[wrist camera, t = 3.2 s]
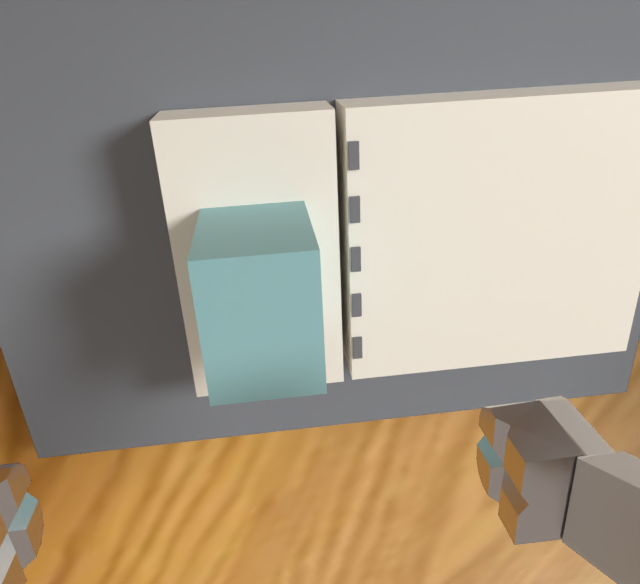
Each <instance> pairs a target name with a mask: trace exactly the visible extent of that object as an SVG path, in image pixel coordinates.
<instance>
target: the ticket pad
mask: <svg viewBox="0 0 640 584" xmlns="http://www.w3.org/2000/svg"><path fill="white" fill-rule="evenodd" d="M335 107H336V138H337V169H338V200H339V231H340V262H341V293H342V324H343V350H344V354H345V357H346V360H347V364H348V367H349V371H350V374H351V377H352V380H355V379H364V378H374V377H383V376H393V375H402V374H411V373H421V372H430V371H440V370H449V369H459V368H468V367H477V366H487V365H496V364H506V363H515V362H524V361H534V360H543V359H553V358H562V357H571V356H581V355H590V354H600V353H609V352H619V351H626V349H627V345H628V340H629V336H630V331H631V327H632V323H633V318H634V314H635V309H636V305H637V300H638V296H639V291H640V80H637V81H621V82H605V83H589V84H573V85H558V86H542V87H526V88H510V89H494V90H478V91H462V92H447V93H431V94H415V95H399V96H383V97H367V98H351V99H336V100H335Z"/></svg>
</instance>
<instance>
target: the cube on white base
mask: <svg viewBox="0 0 640 584" xmlns="http://www.w3.org/2000/svg"><path fill="white" fill-rule="evenodd" d="M149 122H150V128H151V134H152V139H153V145H154V151H155V157H156V163H157V168H158V174H159V180H160V186H161V192H162V197H163V203H164V209H165V215H166V221H167V226H168V232H169V238H170V244H171V250H172V255H173V261H174V267H175V273H176V279H177V284H178V290H179V296H180V302H181V308H182V313H183V319H184V325H185V331H186V337H187V342H188V348H189V354H190V360H191V366H192V371H193V377H194V383H195V389H196V395H197V397H203V396H209V402H210V406H217V405H227V404H236V403H245V402H254V401H264V400H273V399H282V398H292V397H301V396H310V395H319V394H327V385H326V383H335V382H344V370H343V340H342V309H341V279H340V248H339V218H338V187H337V156H336V126H335V109H334V108H333V107H332V106H331V105H330V104H329V103H328V102H327V101H326V100H323V101H307V102H291V103H276V104H260V105H244V106H228V107H212V108H196V109H181V110H165V111H159V112H158V113H157V114H156V115H155V116H154V117H153V118H152V119H151V120H150V121H149Z"/></svg>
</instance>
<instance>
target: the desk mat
mask: <svg viewBox="0 0 640 584" xmlns="http://www.w3.org/2000/svg"><path fill="white" fill-rule="evenodd" d="M637 80H640V0H0V347H1V350H2V353H3V356H4V359H5V362H6V365H7V367H8V370H9V373H10V376H11V379H12V382H13V385H14V388H15V391H16V394H17V397H18V400H19V403H20V405H21V408H22V411H23V414H24V417H25V420H26V423H27V426H28V429H29V432H30V435H31V438H32V440H33V443H34V446H35V449H36V452H37V455H38V458H45V457H54V456H63V455H72V454H81V453H90V452H99V451H107V450H116V449H125V448H134V447H143V446H152V445H161V444H170V443H178V442H187V441H196V440H205V439H214V438H223V437H232V436H240V435H249V434H258V433H267V432H276V431H285V430H294V429H302V428H311V427H320V426H329V425H338V424H347V423H356V422H365V421H373V420H382V419H391V418H400V417H409V416H418V415H427V414H435V413H444V412H453V411H462V410H471V409H480V408H482V407H487V406H495V405H502V404H510V403H518V402H526V401H534V400H535V399H542V398H549V397H556V396H562V397H565V398H567V399H568V398H577V397H586V396H595V395H604V394H613V393H622V392H627V387H628V383H629V379H630V375H631V370H632V366H633V362H634V357H635V353H636V349H637V345H638V340H639V336H640V291H639V296H638V300H637V305H636V309H635V314H634V318H633V323H632V327H631V331H630V336H629V340H628V345H627V349H626V351H619V352H609V353H600V354H590V355H581V356H571V357H562V358H553V359H543V360H534V361H524V362H515V363H506V364H496V365H487V366H477V367H468V368H459V369H449V370H440V371H430V372H421V373H411V374H402V375H393V376H383V377H374V378H364V379H355V380H352V377H351V374H350V371H349V367H348V364H347V360H346V357H345V354H344V350H343V370H344V382H335V383H326V385H327V394H319V395H310V396H301V397H292V398H282V399H273V400H264V401H254V402H245V403H236V404H227V405H217V406H210V402H209V396H203V397H197V395H196V389H195V383H194V377H193V371H192V366H191V360H190V354H189V348H188V342H187V337H186V331H185V325H184V319H183V313H182V308H181V302H180V296H179V290H178V284H177V279H176V273H175V267H174V261H173V255H172V250H171V244H170V238H169V232H168V226H167V221H166V215H165V209H164V203H163V197H162V192H161V186H160V180H159V174H158V168H157V163H156V157H155V151H154V145H153V139H152V134H151V128H150V122H149V121H150V120H151V119H152V118H153V117H154V116H155V115H156V114H157V113H158V112H159V111H165V110H181V109H196V108H212V107H228V106H244V105H260V104H276V103H291V102H307V101H323V100H326V101H327V102H328V103H329V104H330V105H331V106H332V107H333V108H334V109H335V126H336V107H335V100H336V99H351V98H367V97H383V96H399V95H415V94H431V93H447V92H462V91H478V90H494V89H510V88H526V87H542V86H558V85H573V84H589V83H605V82H621V81H637ZM336 156H337V138H336ZM337 187H338V169H337ZM338 218H339V200H338ZM339 248H340V231H339ZM340 279H341V262H340ZM341 309H342V293H341ZM342 340H343V324H342Z"/></svg>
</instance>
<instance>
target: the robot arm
mask: <svg viewBox="0 0 640 584" xmlns="http://www.w3.org/2000/svg"><path fill="white" fill-rule="evenodd" d="M479 426H480V428H481V430H482V431H483V433H484V437H483V438H482V439H481V440H480V441H479V443H478V444H477V457H476V459H477V466H478V472H479V476H480V479H481V482H482V485H483V487H484V489H485V491H486V493H487V495H488V496H489V497H491V498H493V499H494V500H496V501H497V502H499V512H498V515H499V517H500V519H501V521H502V523H503V525H504V526H505V528H506V530H507V532H508V534H509V536H510V538H511V539H512V541H513V543H514V545H518V544H526V543H535V542H544V541H552V540H561V539H562V542H563V543H564V544H566V545H567V546H568V547H570V548H571V549H572V550H573V551H575V552H576V553H577V554H579V555H580V556H581V557H583V558H584V559H585V560H587V561H588V562H589V563H591V564H592V565H593V566H595V567H596V568H597V569H599V570H600V571H601V572H603V573H604V574H605V575H607V576H608V577H609V578H611V579H612V580H613V581H614V582H616V583H617V584H640V458H637V457H635V456H633V455H631V454H629V453H626V452H624V451H620V452H615V451H614V450H613V449H612V448H611V447H610V446H609V445H608V444H607V442H606V441H605V440H604V439H603V438H602V437H601V436H600V435H599V434H598V432H597V431H596V430H595V429H594V428H593V427H592V426H591V425H590V424H589V422H588V421H587V420H586V419H585V418H584V417H583V416H582V415H581V414H580V412H579V411H578V410H577V409H576V408H575V407H574V406H573V405H572V404H571V402H570V401H569V400H568V399H567V398H565V397H562V396H556V397H549V398H542V399H535V400H534V401H526V402H518V403H510V404H502V405H495V406H487V407H482V410H481V412H480V417H479ZM31 481H32V480H31V478H30V475H29V473H28V471H27V468H26V466H25V465H22V464H20V463H14V464H4V465H0V584H26V581H27V580H26V577H25V575H24V572H23V569H24V568H25V567H26V566H27V565H28V564H29V563H30V562H31V561H32V560H34V559H35V558H36V556H37V553H38V551H39V548H40V545H41V542H42V535H43V527H44V523H43V514H42V509H41V506H40V503H39V500H37V499H36V498H34V497H33V496H32V495H30V494H29V493H27V490H28V487H29V485H30V483H31Z"/></svg>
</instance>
